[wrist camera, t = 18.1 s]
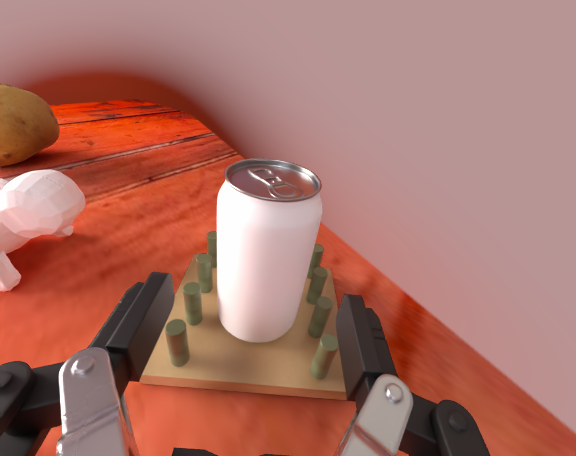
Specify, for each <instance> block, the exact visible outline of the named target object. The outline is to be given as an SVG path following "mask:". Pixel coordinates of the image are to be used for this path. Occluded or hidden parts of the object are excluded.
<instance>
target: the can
mask: <svg viewBox="0 0 576 456" xmlns="http://www.w3.org/2000/svg"><path fill="white" fill-rule="evenodd" d="M225 179H226V180H225V182H224V184H223V185H222V187H221V189H220V191H219V194H218V199H217V301H218V315H219V319H220V321H221V323H222V325H223V326H224V328H225V329H226V330H227V331H228V332H229V333H230V334H232V335H233V336H235V337H237V338H239V339H241V340H244V341H248V342H256V343H261V342H269V341H273V340H275V339H277V338H279V337H281V336H282V335H284V334H285V333H286V332H287V331H288V330H289V329H290V328H291V327H292V325H293V324H294V321H295V319H296V316H297V312H298V308H299V305H300V301H301V297H302V293H303V289H304V285H305V281H306V277H307V273H308V269H309V265H310V261H311V258H312V254H313V250H314V245H315V241H316V237H317V233H318V229H319V225H320V221H321V216H322V202H321V198H320V194H319V192H320V190H321V186H322V185H321V181H320V179H319V178H318V176H317V175H315V174H314V173H313V172H312V171H310V170H308V169H306V168H304V167H302V166H300V165H297V164H294V163H291V162H287V161H282V160H275V159H264V158H256V159H246V160H241V161H238V162H235V163H233V164H231V165H230V166H229V167H227V169H226V170H225Z"/></svg>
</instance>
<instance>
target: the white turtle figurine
mask: <svg viewBox="0 0 576 456" xmlns="http://www.w3.org/2000/svg"><path fill="white" fill-rule="evenodd" d="M85 206H86V200H85V196H84V194H83V193H82V191H81V190H80V189H79V187H78V186H77V185H76V184H75V182H74V181H73V180H72V179H70V178H69V177H67V176H65V175H64V174H62V173H61V172H60V171H55V170H51V169H49V170H38V171H30V172H27V173H24V174H22V175H20V176H18V177H16V178H15V179H13V180H12V181H7V180H4V179H2V178H0V291H4V292H5V291H9V290H11V289H12V288H13V287H15V286H16V285H17V284H19V282H20V279H21V275H20V273H19V272H18V270H16V269H15V268H14V267H13V265H12V264H11V263H10V260H9V258H8V257H7V256H6V254H7V253H10V252H12V251H14V250H16V249H19V248H20V247H22V246H23V245H24V244H26V243H27V242H28V241H29V240H30V239H31V238H35V237H38V236H40V235H49V234H50V235H53V236H55V237H66V236H70V235H71V234H72V233H73V231H74V227H73V226H72V225H71V224H72V223H73V222H74V221H75V219H76V218H77V217H78V216H79V215H80V214H81V213H82V212H83V210H84V208H85Z"/></svg>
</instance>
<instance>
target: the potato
mask: <svg viewBox="0 0 576 456" xmlns="http://www.w3.org/2000/svg"><path fill="white" fill-rule="evenodd" d="M59 132H60V131H59V125H58V122H57V119H56V117H55V115H54V113H53V111H52V109H51V107H50V106H49V105H48V104H47V103H46V102H45V101H44V100H43V99H42V98H41V97H39V96H37V95H35V94H34V93H31V92H29V91H25V90H22V89H19V88H15V87H13V86H10V85H6V84H0V166H3V165H8V166H9V165H10V164H16V163H19V162H22V161H25V160H26V159H28V158H29V157H31V156H33V155H34V154H36V153H37V152H39V151H41V150H42V149H45V148H46V147H49V146H51V145H52V144H54V143H55V142H56V140H57V139H58V137H59Z"/></svg>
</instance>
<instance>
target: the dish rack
mask: <svg viewBox="0 0 576 456" xmlns="http://www.w3.org/2000/svg"><path fill="white" fill-rule="evenodd" d="M323 252H324V247H323V246H322V245H320V244H315V245H314V250H313V254H312V258H311V261H310V265H309V269H308V273H307V277H306V281H305V285H304V289H303V293H302V297H301V301H300V305H299V308H298V312H297V316H296V319H295V321H294V324H293V325H292V327H291V328H290V329H289V330H288V331H287V332H286V333H285V334H284V335H282V336H281V337H279V338H277V339H275V340H273V341H269V342H261V343H256V342H248V341H244V340H241V339H239V338H237V337H235V336H233V335H232V334H230V333H229V332H228V331H227V330H226V329H225V328H224V326H223V325H222V323H221V321H220V319H219V315H218V301H217V232H216V231H212V232H209V233H208V234H207V253H203V254H198V253H195V254H194V256H193V258H192V260H191V262H190V264H189V267H188V269H187V271H186V273H185V275H184V277H183V279H182V281H181V283H180V286H179V288H178V290H177V292H176V294H175V299H174V305H173V308H172V311H171V313H170V315H169V317H168V320H167V322H166V324H165V326H164V328H163V330H162V333H161V335H160V337H159V339H158V341H157V343H156V346H155V348H154V350H153V352H152V354H151V356H150V359H149V361H148V363H147V365H146V367H145V369H144V372H143V374H142V376H141V378H140V383H142V384H154V385H166V386H178V387H190V388H202V389H214V390H227V391H239V392H251V393H263V394H275V395H287V396H300V397H312V398H324V399H336V400H347V397H346V391H345V384H344V378H343V371H342V365H341V358H340V352H339V345H338V339H337V332H336V315H337V312H338V306H337V300H336V294H335V288H334V283H333V277H332V271H331V269H326V268H323V267H319V266H320V262H321V259H322V255H323Z"/></svg>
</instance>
